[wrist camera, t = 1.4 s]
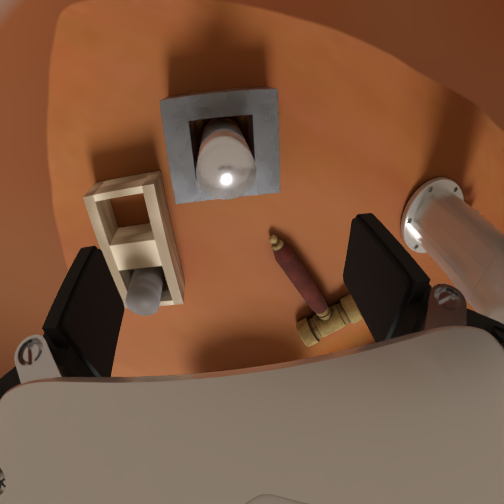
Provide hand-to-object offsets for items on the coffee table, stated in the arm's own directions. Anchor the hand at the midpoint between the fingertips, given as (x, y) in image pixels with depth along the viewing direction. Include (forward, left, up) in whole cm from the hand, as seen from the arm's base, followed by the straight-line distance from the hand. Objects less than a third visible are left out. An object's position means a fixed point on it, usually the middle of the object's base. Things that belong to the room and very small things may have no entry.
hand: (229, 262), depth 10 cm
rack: (+11, +11, -22) cm, 27 cm away
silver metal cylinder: (0, 0, -22) cm, 22 cm away
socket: (0, 0, -22) cm, 22 cm away
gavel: (-10, +22, -23) cm, 33 cm away
